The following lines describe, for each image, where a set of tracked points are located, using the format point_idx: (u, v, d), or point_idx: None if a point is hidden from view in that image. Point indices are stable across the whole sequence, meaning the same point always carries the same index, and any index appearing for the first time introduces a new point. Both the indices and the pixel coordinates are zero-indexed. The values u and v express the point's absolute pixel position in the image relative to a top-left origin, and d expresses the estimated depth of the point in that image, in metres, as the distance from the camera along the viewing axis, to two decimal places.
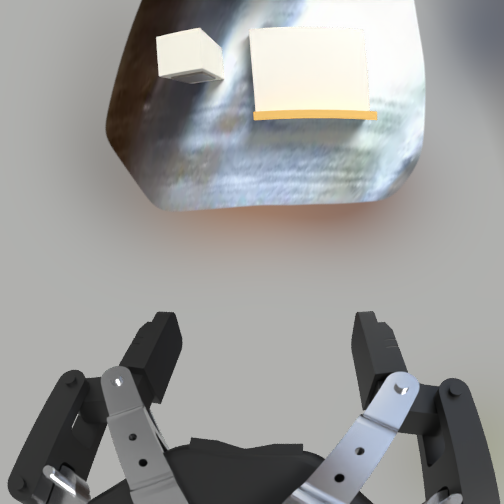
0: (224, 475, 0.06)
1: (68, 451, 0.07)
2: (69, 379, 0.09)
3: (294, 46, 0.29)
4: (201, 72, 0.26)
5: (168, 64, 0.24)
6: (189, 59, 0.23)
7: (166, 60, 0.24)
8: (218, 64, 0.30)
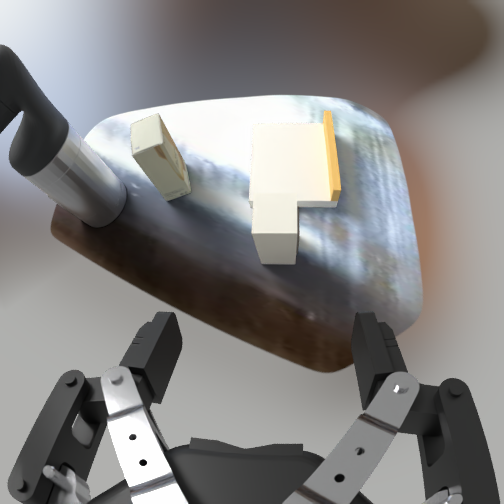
0: (224, 475, 0.06)
1: (68, 451, 0.07)
2: (69, 379, 0.09)
3: (270, 168, 0.42)
4: (297, 207, 0.32)
5: (286, 222, 0.29)
6: (285, 203, 0.30)
7: (281, 224, 0.29)
8: None
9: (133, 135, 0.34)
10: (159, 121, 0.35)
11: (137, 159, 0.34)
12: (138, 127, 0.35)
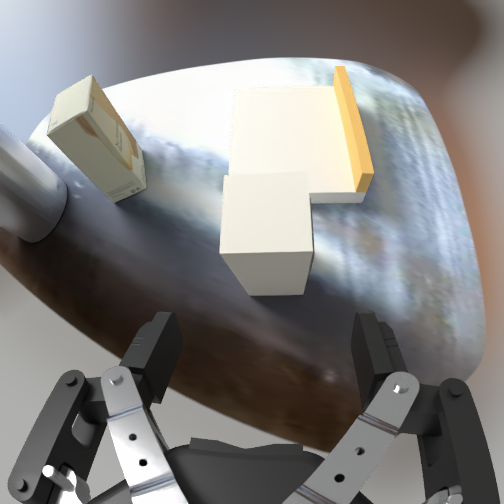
0: (224, 475, 0.06)
1: (68, 451, 0.07)
2: (69, 379, 0.09)
3: (260, 146, 0.27)
4: None
5: (289, 230, 0.14)
6: (286, 191, 0.15)
7: (280, 233, 0.14)
8: None
9: (55, 108, 0.19)
10: (90, 84, 0.20)
11: (55, 140, 0.19)
12: (63, 97, 0.20)
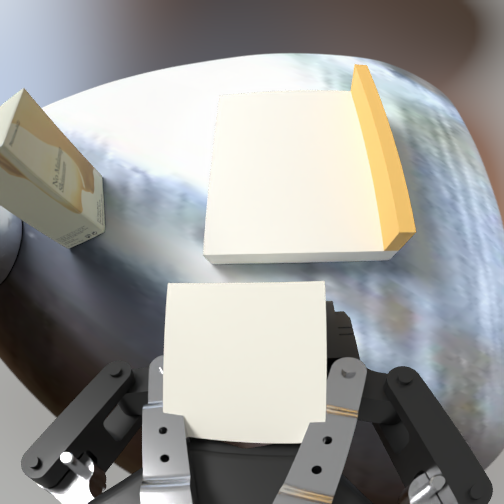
0: (224, 475, 0.06)
1: (94, 441, 0.07)
2: (114, 370, 0.09)
3: (250, 179, 0.20)
4: None
5: (285, 405, 0.07)
6: (282, 326, 0.08)
7: (267, 410, 0.07)
8: None
9: None
10: (18, 102, 0.12)
11: None
12: None
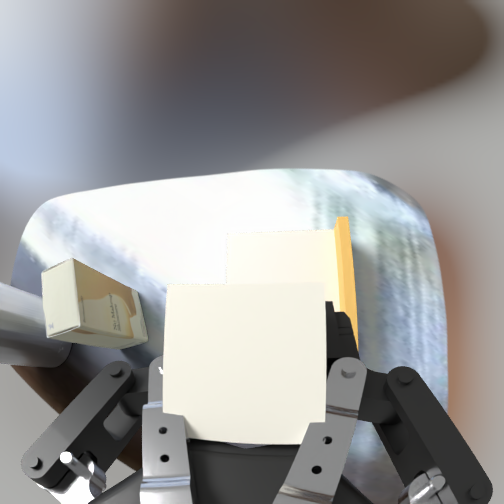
0: (224, 475, 0.06)
1: (94, 441, 0.07)
2: (114, 370, 0.09)
3: None
4: None
5: (285, 407, 0.07)
6: (282, 327, 0.08)
7: (267, 411, 0.07)
8: None
9: (45, 298, 0.21)
10: (74, 276, 0.21)
11: (56, 338, 0.21)
12: (49, 284, 0.21)
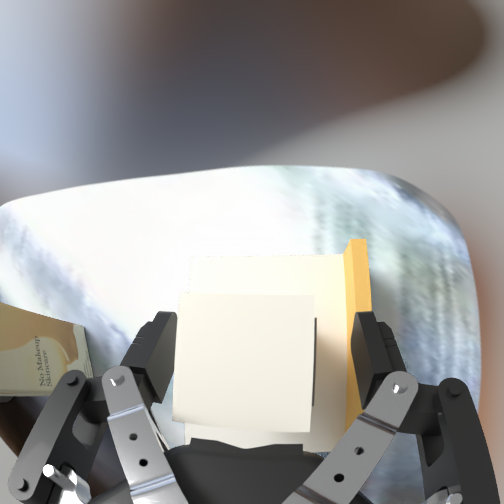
0: (224, 475, 0.06)
1: (68, 451, 0.07)
2: (70, 379, 0.09)
3: None
4: None
5: (277, 399, 0.08)
6: (277, 332, 0.09)
7: (262, 403, 0.08)
8: None
9: None
10: None
11: None
12: None
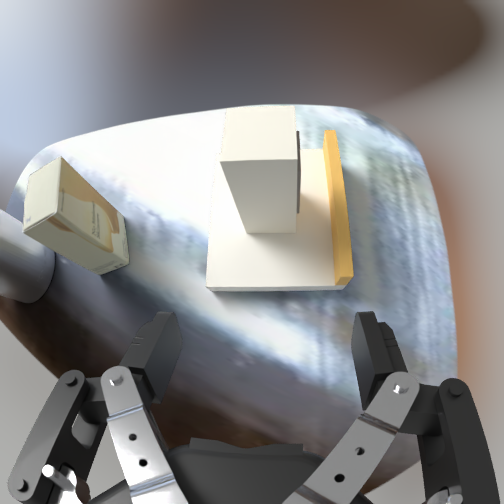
0: (224, 475, 0.06)
1: (68, 451, 0.07)
2: (69, 379, 0.09)
3: (239, 229, 0.27)
4: (296, 131, 0.19)
5: (278, 144, 0.17)
6: (277, 118, 0.17)
7: (270, 146, 0.17)
8: None
9: (28, 196, 0.20)
10: (59, 171, 0.20)
11: (32, 236, 0.19)
12: (34, 182, 0.20)
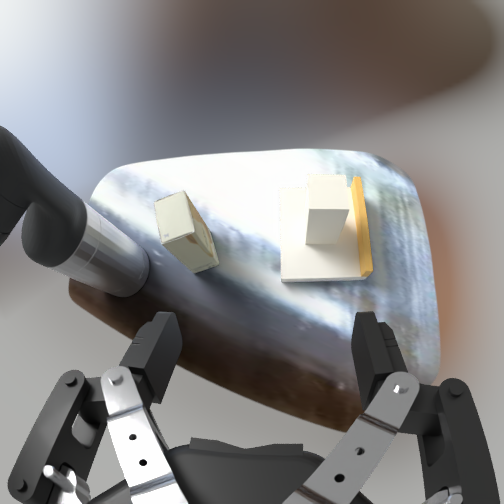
0: (224, 475, 0.06)
1: (68, 451, 0.07)
2: (69, 379, 0.09)
3: (300, 242, 0.42)
4: None
5: (339, 200, 0.31)
6: (337, 183, 0.32)
7: (335, 201, 0.31)
8: None
9: (159, 217, 0.34)
10: (186, 202, 0.35)
11: (167, 246, 0.34)
12: (163, 208, 0.35)
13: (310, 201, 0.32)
